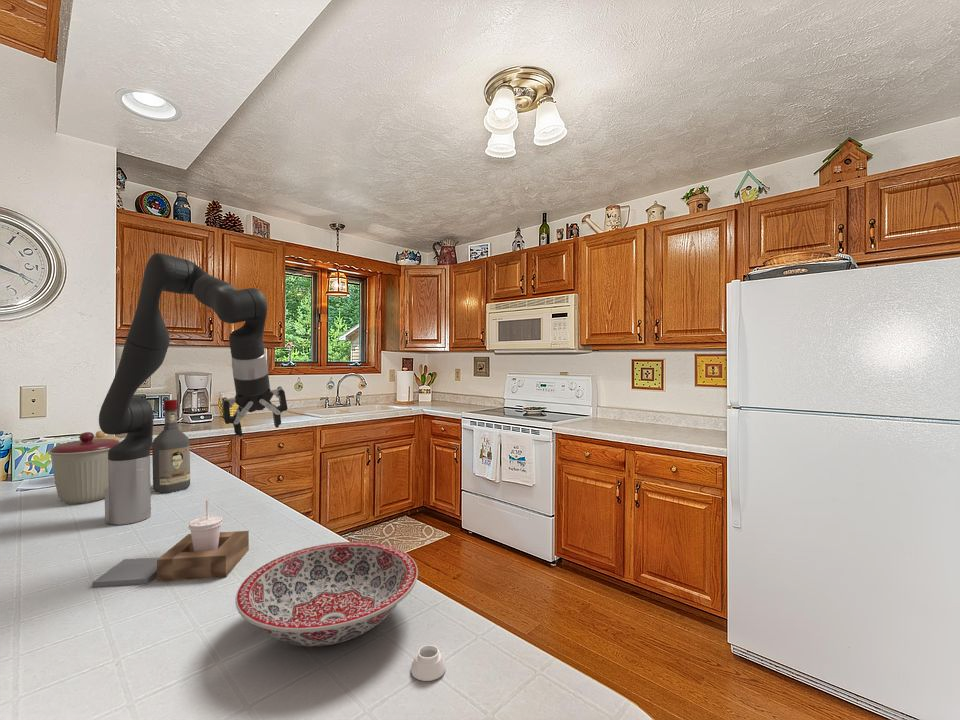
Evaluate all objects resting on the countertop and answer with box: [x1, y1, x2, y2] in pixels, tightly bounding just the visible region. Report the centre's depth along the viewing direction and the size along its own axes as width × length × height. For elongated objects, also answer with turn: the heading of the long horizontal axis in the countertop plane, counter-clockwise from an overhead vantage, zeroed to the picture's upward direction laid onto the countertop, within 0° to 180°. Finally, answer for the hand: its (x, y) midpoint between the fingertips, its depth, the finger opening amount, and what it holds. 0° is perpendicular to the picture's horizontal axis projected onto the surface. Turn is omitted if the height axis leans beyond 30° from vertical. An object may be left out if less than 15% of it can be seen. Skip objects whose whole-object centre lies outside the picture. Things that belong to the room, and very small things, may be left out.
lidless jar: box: [410, 644, 447, 682], centre depth 67 cm, size 5×3×5 cm
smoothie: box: [188, 499, 224, 552], centre depth 100 cm, size 6×6×14 cm
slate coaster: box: [91, 556, 161, 588], centre depth 96 cm, size 10×10×1 cm
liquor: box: [151, 399, 191, 494], centre depth 154 cm, size 9×9×30 cm
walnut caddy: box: [156, 530, 250, 582], centre depth 100 cm, size 13×13×4 cm
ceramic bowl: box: [234, 541, 419, 647], centre depth 78 cm, size 29×29×8 cm
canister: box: [46, 431, 121, 505], centre depth 144 cm, size 18×18×21 cm
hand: (258, 430), depth 116 cm, fingers open, 8 cm apart
